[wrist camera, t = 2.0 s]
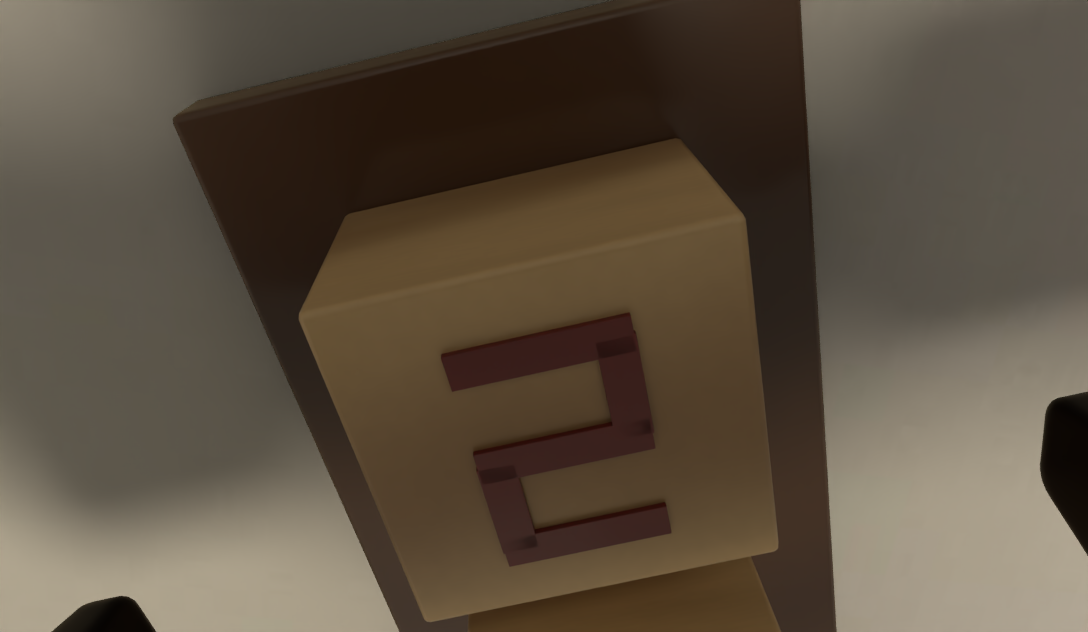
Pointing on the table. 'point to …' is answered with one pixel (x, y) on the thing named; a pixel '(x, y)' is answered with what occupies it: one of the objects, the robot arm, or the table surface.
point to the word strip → (528, 145)
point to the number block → (552, 378)
